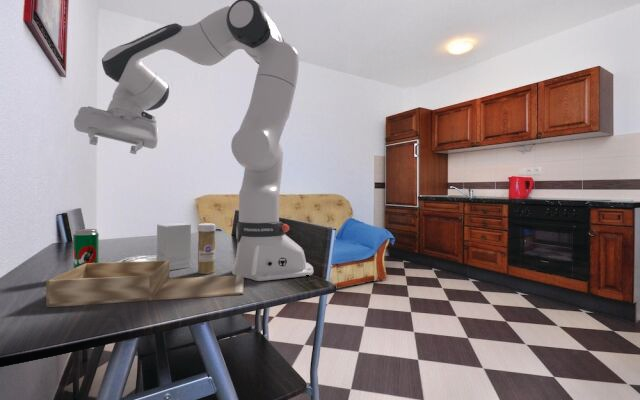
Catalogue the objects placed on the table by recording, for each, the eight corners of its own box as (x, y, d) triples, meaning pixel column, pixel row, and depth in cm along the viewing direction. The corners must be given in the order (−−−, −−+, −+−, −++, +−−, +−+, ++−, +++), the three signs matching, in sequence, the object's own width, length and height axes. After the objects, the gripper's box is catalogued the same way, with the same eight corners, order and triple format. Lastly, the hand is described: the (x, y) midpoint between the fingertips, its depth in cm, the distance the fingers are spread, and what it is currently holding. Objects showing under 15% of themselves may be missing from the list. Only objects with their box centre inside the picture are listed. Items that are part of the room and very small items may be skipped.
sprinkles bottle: (202, 275, 78) (202, 225, 78) (194, 272, 81) (195, 223, 81) (218, 272, 81) (218, 224, 81) (210, 269, 85) (210, 222, 84)
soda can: (103, 274, 77) (103, 229, 77) (86, 280, 72) (86, 231, 72) (85, 273, 78) (85, 228, 78) (67, 279, 73) (67, 231, 73)
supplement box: (191, 267, 87) (191, 224, 86) (164, 271, 81) (164, 226, 81) (182, 262, 92) (182, 222, 92) (156, 266, 87) (156, 223, 86)
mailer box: (243, 276, 78) (243, 257, 78) (243, 294, 64) (243, 271, 64) (85, 284, 69) (85, 263, 69) (46, 307, 56) (46, 280, 55)
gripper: (81, 96, 83) (65, 128, 75) (162, 119, 93) (155, 149, 85) (81, 113, 87) (66, 145, 79) (159, 133, 98) (152, 163, 90)
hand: (113, 147), depth 82 cm, fingers open, 8 cm apart
